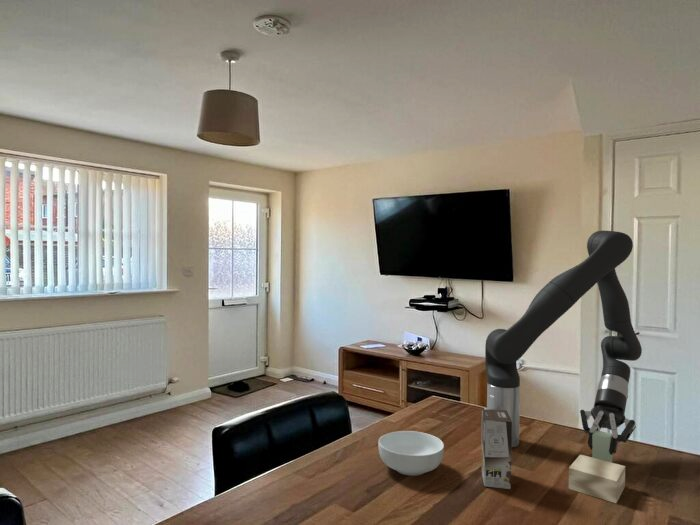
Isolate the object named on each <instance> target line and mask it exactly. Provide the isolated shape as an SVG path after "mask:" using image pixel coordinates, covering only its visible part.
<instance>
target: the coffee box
mask: <svg viewBox="0 0 700 525" xmlns="http://www.w3.org/2000/svg"><path fill="white" fill-rule="evenodd" d="M512 448H513V447H512V420H511V418H510V416H509V414H508V412H507V410H494V409H490V410H489V409H485V408H482V409H481V467H480V468H481V470H480V471H481V475H482V480H483V485H484V487H489V488H496V489H505V490H511V488H512V487H511V486H512Z"/></svg>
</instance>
